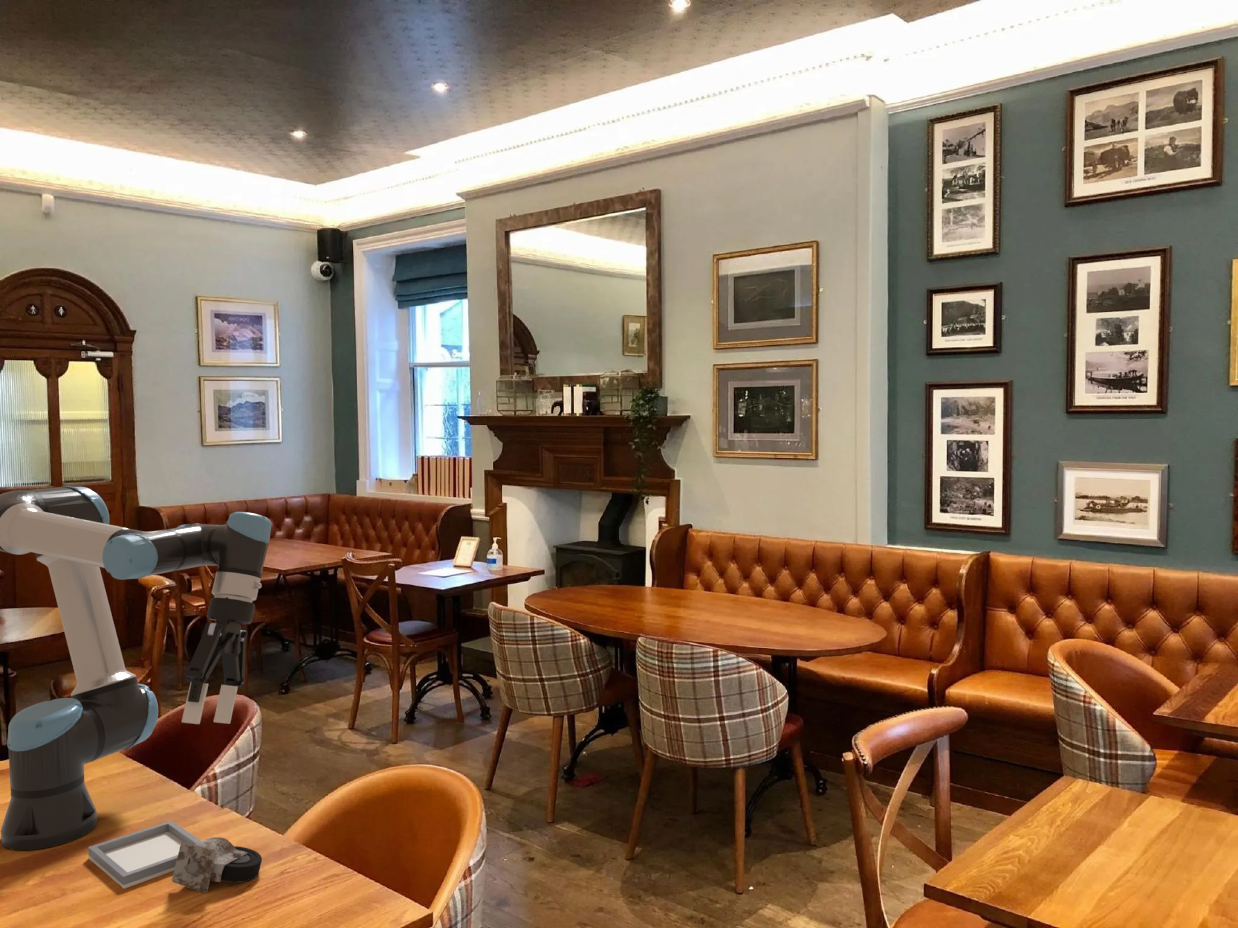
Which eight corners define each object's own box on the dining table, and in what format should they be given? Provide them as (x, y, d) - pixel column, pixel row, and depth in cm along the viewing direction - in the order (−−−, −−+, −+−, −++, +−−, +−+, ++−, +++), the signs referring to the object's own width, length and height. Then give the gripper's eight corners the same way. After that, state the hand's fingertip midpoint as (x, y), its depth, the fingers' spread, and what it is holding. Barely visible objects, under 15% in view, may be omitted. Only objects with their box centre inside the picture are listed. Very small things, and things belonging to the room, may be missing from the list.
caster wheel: (265, 882, 156) (229, 904, 146) (208, 862, 158) (168, 882, 149) (275, 843, 156) (239, 862, 147) (218, 823, 159) (179, 841, 149)
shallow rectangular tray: (88, 858, 160) (88, 846, 160) (171, 830, 171) (171, 820, 170) (123, 888, 149) (123, 876, 149) (210, 857, 160) (209, 846, 160)
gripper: (228, 592, 152) (199, 725, 146) (277, 609, 176) (253, 724, 170) (183, 587, 152) (152, 720, 146) (237, 605, 176) (213, 720, 170)
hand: (206, 723), depth 158 cm, fingers open, 13 cm apart
